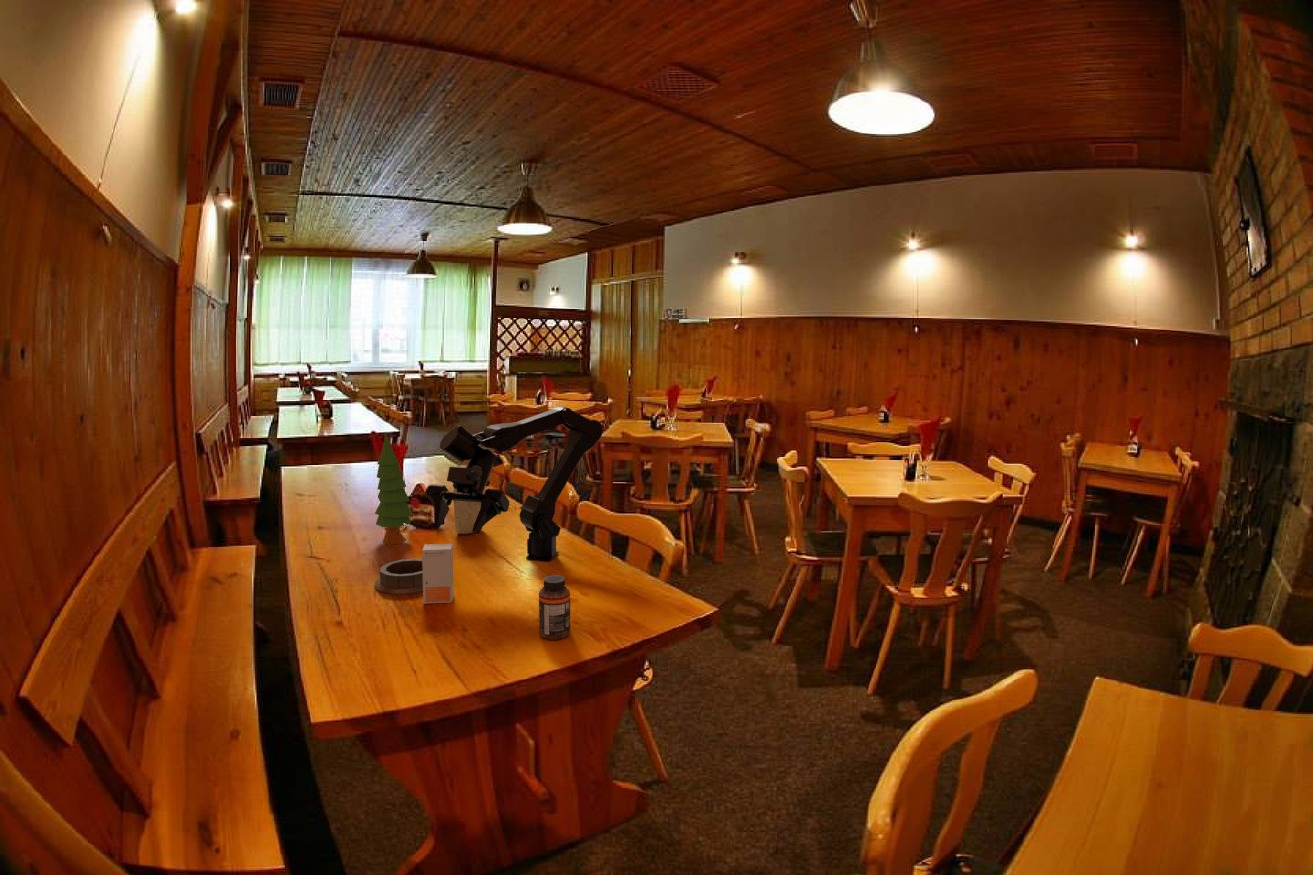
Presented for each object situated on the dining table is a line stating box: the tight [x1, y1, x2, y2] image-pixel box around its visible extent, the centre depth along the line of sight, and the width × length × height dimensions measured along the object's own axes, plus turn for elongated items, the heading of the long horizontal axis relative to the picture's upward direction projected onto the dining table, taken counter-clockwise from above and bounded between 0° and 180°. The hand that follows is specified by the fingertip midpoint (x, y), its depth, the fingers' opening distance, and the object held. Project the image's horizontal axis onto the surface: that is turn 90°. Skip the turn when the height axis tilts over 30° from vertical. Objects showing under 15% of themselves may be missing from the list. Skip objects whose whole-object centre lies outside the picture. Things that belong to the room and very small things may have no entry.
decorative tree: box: [374, 432, 413, 546], centre depth 187 cm, size 10×9×30 cm
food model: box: [452, 464, 486, 535], centre depth 197 cm, size 10×7×20 cm
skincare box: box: [421, 543, 455, 605], centre depth 148 cm, size 6×4×12 cm
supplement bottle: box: [538, 574, 571, 641], centre depth 133 cm, size 6×6×11 cm
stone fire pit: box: [374, 558, 423, 596], centre depth 158 cm, size 14×14×4 cm
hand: (454, 530), depth 154 cm, fingers open, 9 cm apart
